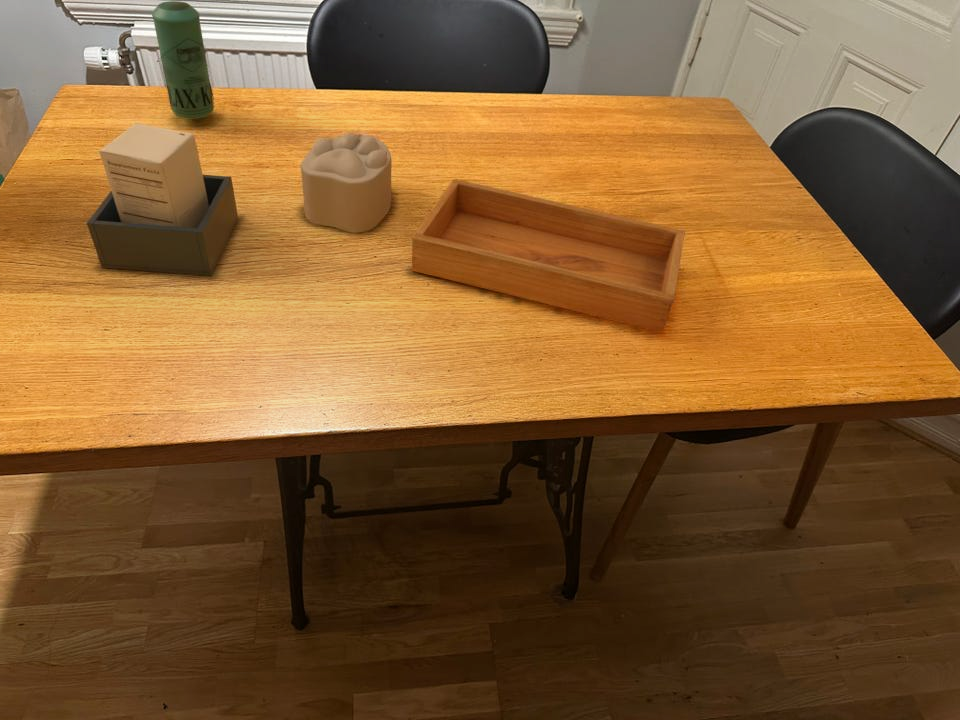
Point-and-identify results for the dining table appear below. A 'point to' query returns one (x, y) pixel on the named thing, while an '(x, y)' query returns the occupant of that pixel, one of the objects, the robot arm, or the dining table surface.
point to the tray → (551, 253)
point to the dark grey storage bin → (167, 236)
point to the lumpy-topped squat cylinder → (347, 182)
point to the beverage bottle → (183, 59)
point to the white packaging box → (156, 177)
